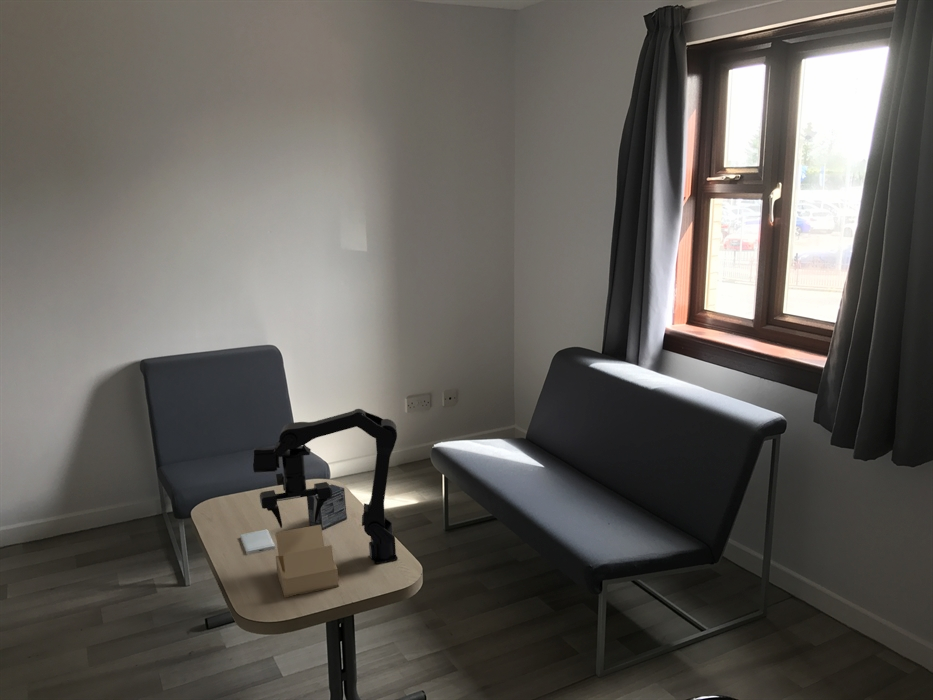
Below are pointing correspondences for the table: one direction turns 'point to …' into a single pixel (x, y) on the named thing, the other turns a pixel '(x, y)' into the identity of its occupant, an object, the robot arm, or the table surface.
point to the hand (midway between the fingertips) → (298, 524)
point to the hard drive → (257, 541)
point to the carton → (305, 580)
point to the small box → (329, 509)
